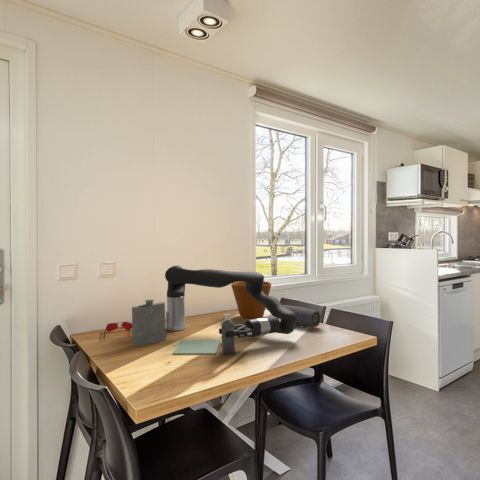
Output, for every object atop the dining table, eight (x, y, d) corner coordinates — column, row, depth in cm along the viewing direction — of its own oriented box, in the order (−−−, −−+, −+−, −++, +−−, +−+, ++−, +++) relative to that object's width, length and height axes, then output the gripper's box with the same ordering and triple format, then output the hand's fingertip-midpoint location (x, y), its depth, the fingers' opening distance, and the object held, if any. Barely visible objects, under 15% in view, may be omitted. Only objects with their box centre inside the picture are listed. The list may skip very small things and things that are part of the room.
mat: (172, 354, 142) (172, 353, 142) (181, 341, 160) (181, 340, 160) (215, 354, 142) (215, 352, 142) (219, 340, 160) (219, 339, 160)
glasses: (133, 329, 183) (133, 320, 183) (133, 338, 167) (133, 328, 167) (105, 332, 179) (105, 322, 179) (102, 341, 163) (102, 331, 163)
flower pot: (265, 323, 191) (264, 287, 191) (225, 320, 199) (225, 285, 199) (276, 313, 213) (275, 281, 213) (240, 311, 221) (239, 280, 221)
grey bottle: (221, 354, 141) (220, 315, 141) (222, 350, 146) (221, 312, 146) (234, 354, 141) (233, 315, 140) (235, 350, 146) (234, 312, 146)
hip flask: (163, 338, 165) (162, 296, 165) (167, 340, 162) (166, 297, 162) (131, 345, 155) (130, 301, 155) (135, 347, 152) (134, 302, 152)
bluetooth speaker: (276, 323, 190) (276, 305, 190) (287, 320, 196) (287, 302, 196) (310, 331, 173) (310, 311, 173) (321, 327, 179) (321, 308, 179)
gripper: (249, 315, 156) (215, 320, 148) (266, 322, 144) (230, 328, 136) (249, 332, 156) (215, 337, 148) (266, 340, 144) (230, 347, 136)
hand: (222, 333), depth 142 cm, fingers closed on grey bottle, 5 cm apart
